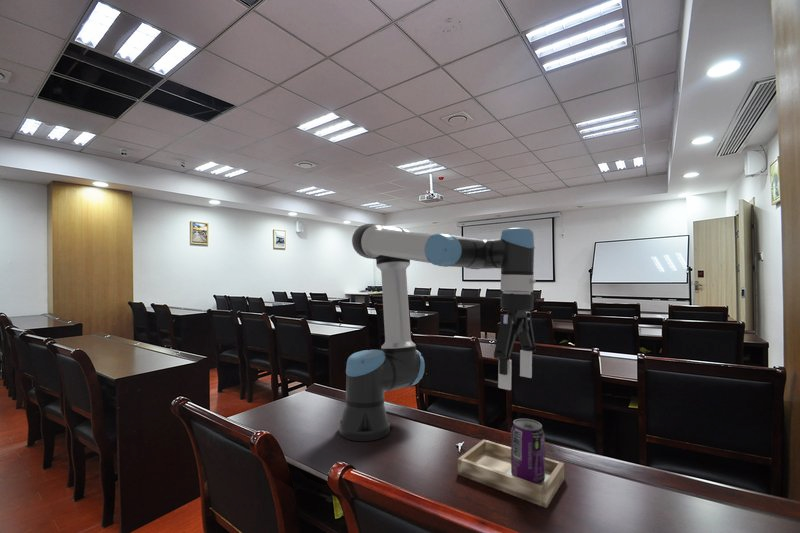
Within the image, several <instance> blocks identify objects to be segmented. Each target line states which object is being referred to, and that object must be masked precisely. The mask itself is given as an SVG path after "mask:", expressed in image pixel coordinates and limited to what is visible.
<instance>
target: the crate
mask: <svg viewBox="0 0 800 533" xmlns="http://www.w3.org/2000/svg"><path fill="white" fill-rule="evenodd" d="M457 475H459V476H461V477H464V478H467V479H469V480H472V481H474V482H477V483H480V484H482V485H485V486H488V487H490V488H493V489H495V490H498V491H502V492H503V493H506V494H508V495H511V496H512V497H513V496H514V497H516V498H519V499H521V500H525V501H527V502H530V503H532V504H535V505H537V506H540V507H543V508H545V509H547V508H548V506H549V505H550V503H551V501H552V500H553V498H554V497H555V495H556V493H557V492H558V491H559V488H560V487H561V486H562V483H563V482H564V481H565V462H561V461H557V460H555V459H551V458H548V457H545V479H544V481H543V482H541V483H537V484H535V483H532V482H530V481H527V480H524V479H521V478H518V477H515V476H513V475H512V473H511V446H508V445H504V444H501V443H497V442H495V441H490V440H487V439H481V440H480V441H479V442H478V443H477V444H476V445H474V446H472V448H470V449H469V450H467V451H466V452H465V453H464V454H462V455H461V456H460V457H458V458H457Z"/></svg>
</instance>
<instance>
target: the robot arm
mask: <svg viewBox="0 0 800 533" xmlns="http://www.w3.org/2000/svg"><path fill="white" fill-rule="evenodd" d="M500 234H501V235H500V238H497V239H479V238H473V237H467V236H466V237H465V236H459V235H454V234H453V235H452V234H450V233H428V232H415V231H409V229H405V228H403V227H399V226H390V225H382V224H377V223H364V224H363V225H360V226H358V227H357V228H356V229H355V231H354V233H353V234H352V238H351V244H352V247H353V249H354V251H355V253H357V254H358V255H359V256H361V257H363V258H366V259H372V260H375V263H376V264H375V265H376V267H377V268H378V270H380V273H381V288H382V289H381V291H382V307H383V308H382V309H383V310H382V311H383V324H384V343H383V344H381V348H380V349H369V350H368V349H366V350H365V349H364V350H360V351H357V352H354V353H352V354H351V355H349V356H348V358H347V361H346V369H345V374H346V375H345V379H346V381H345V406H344V409H343V412H342V418H341V420H340V422H339V428H338V430H339V431H338V433H339V435H340V436H341V437H343V438H344V439H347V440H350V441H354V442H370V441H376V440H379V439H382V438H385V437H386V436H388V434H390V430H391V429H390V426H391V425H390V420H389V418H388V415H387V409H386V406H385V393H386V392H390V391H394V390H398V389H403V388H404V389H407V388H410V387H411V386H414V385H416V384H418V383H419V382H420V381H421V379H423V376H424V374H425V368H426V366H425V365H426V364H425V359H424V357H423V356H422V353H421V352H420V351H419V350H417V345H416V343H415V342H413V341H412V337H411V336H412V335H411V320H410V309H409V308H410V307H409V306H410V305H409V296H408V295H409V292H408V281H407V280H408V278H407V268H408V267H409V266H410V265H411V261H414V262H422V263H427V264H432V265H434V266H438V267H444V268H445V267H448V268H449V267H452V268H453V267H456V268H465V269H471V270H486V269H487V270H488V269H500V291H502V293H501V294H500V308H501V309H503V310H506V314H504V313H503V314H500V316H499V317H500V319H499V320H500V323H499V328H498V331H497V332H498V333H497V338H496V342H495V346H494V353H493V357H494V359H498V374H497V376H498V377H497V378H498V380H497V387H498V388H499V389H503V390H507V391H511V390H512V368H513V367H512V361H513V360H512V359H511V355H512V352H513V348H514V344H515V341H516V339H517V337H518V340H519V344H520V347H521V349H520V353H519V376H520V377H524V378H528V379H529V378H530V379H532V377H533V366H532V365H533V352H536V351H537V346H536V342H535V336H534V329H533V328H534V327H533V323H532V312H530V311H533V310H534V295H533V294H532V293H533V292H534V284H536V282H537V281H536V279H534V274H535V272H534V268H535V267H534V265H535V264H534V262H535V261H534V259H535V258H534V257H535V241H534V240H535V239H534V232H533V230H531V229H530V228H525V227H524V228H523V227H511V228H505V229H503V230H502V231H501V233H500ZM498 388H497V389H498Z"/></svg>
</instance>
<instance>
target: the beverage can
mask: <svg viewBox="0 0 800 533" xmlns="http://www.w3.org/2000/svg"><path fill="white" fill-rule="evenodd" d="M510 445H511V446H510V447H511V473H512V475H513V476H515V477H518V478H521V479H524V480H527V481H530V482H532V483H535V484H537V483H541V482H543V481H544V479H545V458H546V457H545V454H546V453H545V452H546V451H545V449H546V448H545V432H544V429H543V425H542V423H540V421H537V420H535V419H530V418H517V419H514V420H513V421H512V427H511V429H510Z"/></svg>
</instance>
